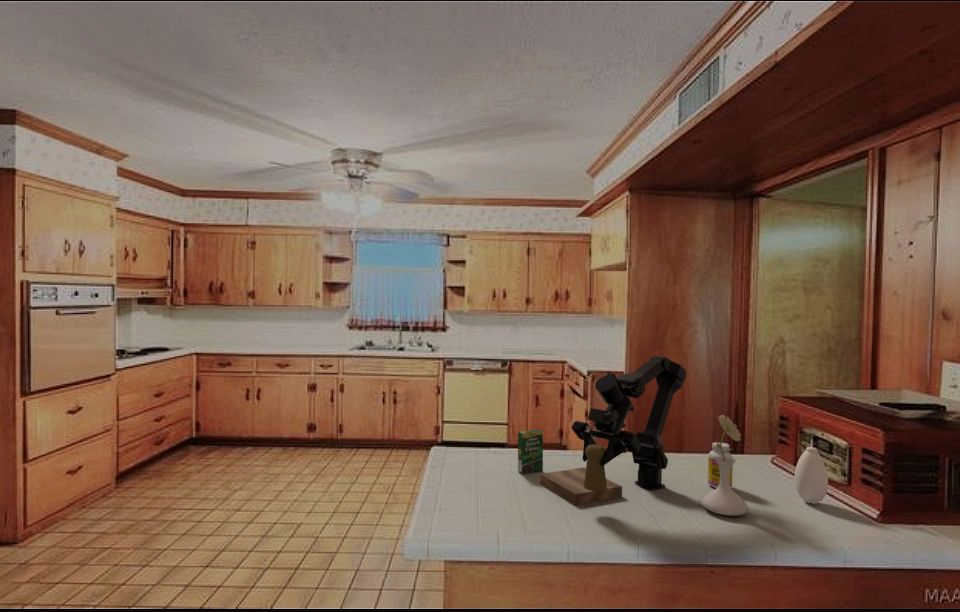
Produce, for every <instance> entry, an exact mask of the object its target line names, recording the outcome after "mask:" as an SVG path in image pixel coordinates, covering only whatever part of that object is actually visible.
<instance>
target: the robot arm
mask: <svg viewBox="0 0 960 612" xmlns="http://www.w3.org/2000/svg"><path fill="white" fill-rule="evenodd" d="M654 379H655V382H656V384H657V389H656V394H655V397H654V398H653V399H654V400H653V403H652V407H651V408H650V409H651V410H650V413H649V416H648V418H647V419H648V420H647V422H646V425H645V428H644V430H643V431H642V432H639V431H638V432H637V433H635V432H631V431H626V430H621V429H625V428H626V427H627V426H626V423H625V422H626V419H627V417H628V414H630V413H629V412H634V411H635V407H634V404H633V401H631V400H630V399H631V398H633V399H639V398H641V396H643V394H644V393H645V392H646V386H647V385H648V384H649V383H650V382H651V381H652V380H654ZM686 379H687V371H686V369H685V368H684V367H683V366H682V365H681V364H679V363H677V362H675V361H672V360H671V359H670V358H669V357H667V356H660V355H659V356H657V355H654V356H651V357H650V359H649V360H648V361H646V362H645V363H644V364H643V365H641V366H640V367H639V368H638V369H635V370H634V371H633V372H628V373H623V374H620V375H618V376H617V375H616V373H614V372H607V373H606V375H604V376H602V377H600V378H599V379H596V381H595V384H594V385H595V387H594V388H595V389H596V391H597V392H598V394H599V396H600V397H601V399H602V400H603V402H604V403H605V404H607V407H606V408H605V410H604V409H599V408H592V407H590V409H589V411H588V412H589V413H588V415H587V420H588V421H591V422H593V423H592V425H593V427H595V428H596V429H595V428H592V427H591V426H590V425H589V423H588V422H586V421H585V422H584V421H580V420H576V421H573V422H572V425H571V426H570V428H571V430H572V431H573V433H574V434H575V436H576V437H577V438H578V439H579V440H581V441H583V452H582V461H583V462H585V463H587V456H586V454H585V450H586V447H587V446H588V445H598V443H596V441H595V439H596V438H597V439H603V440H606V441H608V444H607V446H606V448H605V453H604V455H603V457H602V459H601V462H600V466H602V467H603V466H604V467H605V465H607V464H608V463H610V462H611V461H612V460H614V459H615V458H617V457H618V456H620V455H622V454H626V453H627V451H628V452H630V453H631V455H632V460H633V463H634V464H638V470H637V480H635V481H634V484H636V485H637V486H640V487H642V488H645V489H647V490H649V491H651V490H656V489H657V490H658V489H662V487H663V488H666V484H663V483H662V479H663V478H662V477H663V476H662V473H663V470H665V469H667V467H668V463H669V459H668V457H667V456H666V454H665V452H664V449H665V446H664V442H663V439H662V433H663V432H664V427H665V424H666V421H667V418H668V414H669V411H670V407H671V405H672V401H673V398H674V395H675V394H676V393H677V392H678V391H679V390H680V389H681V388H682V387H683V385H684V382H685V381H686Z"/></svg>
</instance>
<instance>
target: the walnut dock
mask: <svg viewBox="0 0 960 612" xmlns="http://www.w3.org/2000/svg"><path fill="white" fill-rule="evenodd" d="M585 472H586V467H578V468H571V469H565V470H558V471H557V470H556V471H550V472H543V473H540V475H539V484H540V485H541V486H542V487H545V488H546V489H548V490H550V491H551V492H553V493H555V494H556V495H558V496H559V497H561V498H562V499H564V500H566V501H567V502H569V503H571V504H572V505H574V506H580V505H583V504H590V503H595V502H601V500H602V501H606V500H605V499H607V500H611V499H612V498H613V499H617V497H618V498H622V497H623V485H621V484H618V483H616V482H614V481H613V480H612V479H611V480H610V479H608V478H606V484H607V489H606V490H605V491H590V490H587V489H585V488H584V480H585ZM613 499H612V500H613Z"/></svg>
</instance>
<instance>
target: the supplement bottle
mask: <svg viewBox="0 0 960 612" xmlns="http://www.w3.org/2000/svg"><path fill="white" fill-rule="evenodd" d="M717 442H718V441H716V442H712V450H710V452H709V453H708V462H707V463H708V464H707V485H708V486H709V485H710V486H712V487H714V488H713V489H715V488H717V487H718V486H719V484H720V469H719V465H718V463H717V461H716V460H715V457H723V456H722V452H721V449H720V448H719V447H717V446H716V445H717ZM718 443H719V444H720V442H718ZM721 445H722V450H723V452H725V451H728V450H730V449H731V447H730V445H729V443H726V442H725V443H724V442H722V444H721ZM723 454H724V457H728V458H732V459H734V458H733V455H732V454H731V453H730V451H728V452H726V453H723ZM733 465H734V464H733ZM733 465H732V467H731V470H730V477H729V484H730V487H731V489H732V488H733V471H734V470H733V467H734V466H733ZM710 486H709V487H710ZM712 487H711V488H712Z"/></svg>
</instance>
